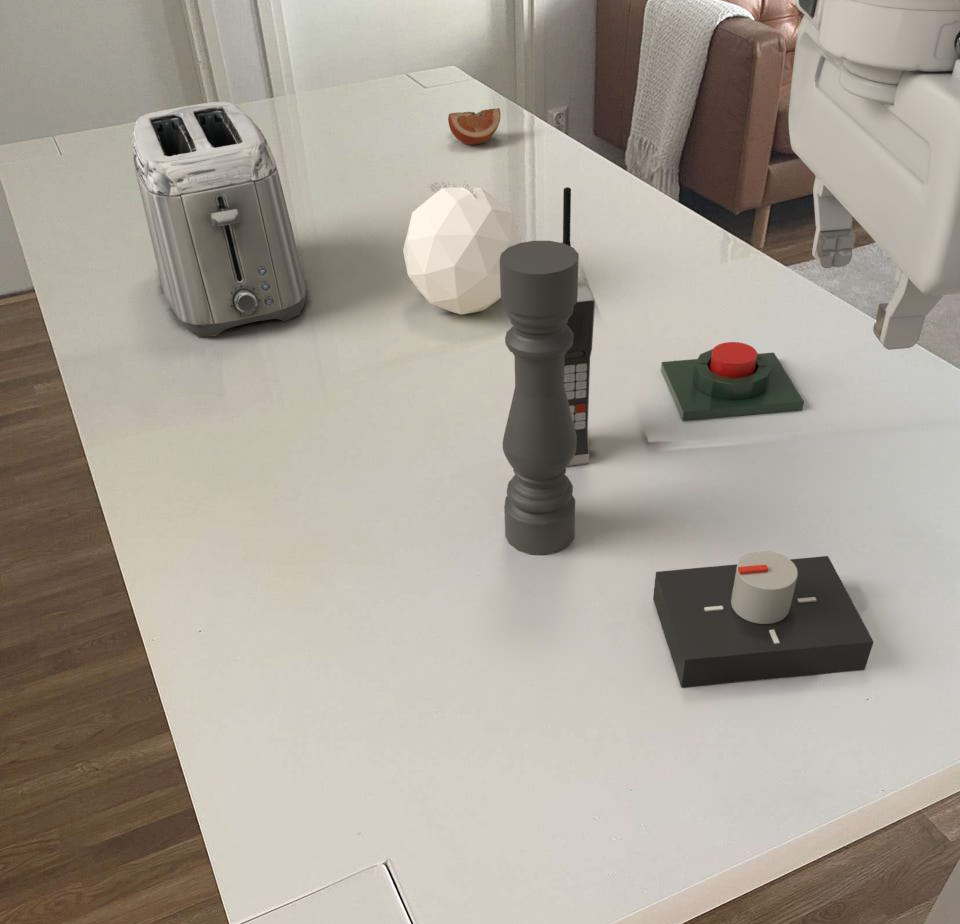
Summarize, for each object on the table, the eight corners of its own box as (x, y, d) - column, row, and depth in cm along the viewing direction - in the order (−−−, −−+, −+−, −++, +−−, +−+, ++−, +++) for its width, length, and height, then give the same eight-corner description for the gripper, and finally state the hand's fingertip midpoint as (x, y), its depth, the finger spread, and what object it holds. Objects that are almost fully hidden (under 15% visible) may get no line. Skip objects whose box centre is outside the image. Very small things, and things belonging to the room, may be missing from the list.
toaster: (179, 354, 116) (133, 183, 103) (154, 255, 136) (112, 101, 123) (322, 326, 119) (294, 157, 106) (276, 233, 140) (248, 82, 126)
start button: (747, 355, 103) (750, 340, 102) (760, 377, 100) (762, 361, 98) (705, 359, 103) (707, 343, 101) (716, 381, 100) (718, 365, 98)
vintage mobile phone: (551, 470, 96) (552, 203, 79) (540, 441, 100) (539, 180, 82) (589, 465, 96) (599, 198, 79) (577, 437, 100) (584, 176, 83)
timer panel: (820, 583, 83) (828, 553, 81) (864, 670, 76) (874, 640, 74) (652, 599, 82) (655, 569, 80) (681, 688, 75) (685, 658, 73)
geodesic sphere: (353, 258, 118) (400, 171, 106) (430, 217, 126) (481, 131, 114) (438, 356, 119) (493, 281, 107) (508, 309, 127) (568, 233, 115)
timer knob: (779, 583, 79) (788, 545, 76) (797, 621, 75) (806, 583, 73) (724, 588, 78) (730, 550, 76) (739, 627, 75) (746, 588, 73)
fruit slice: (496, 134, 165) (494, 101, 161) (506, 147, 160) (505, 113, 157) (446, 140, 164) (444, 107, 160) (455, 154, 159) (453, 120, 155)
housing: (770, 370, 107) (776, 336, 105) (800, 421, 100) (807, 385, 98) (659, 380, 107) (662, 345, 104) (681, 431, 100) (685, 395, 97)
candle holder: (579, 551, 87) (589, 272, 70) (508, 557, 87) (500, 279, 70) (569, 508, 92) (575, 235, 74) (501, 514, 91) (492, 242, 74)
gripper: (1128, 61, 37) (1007, 395, 47) (908, -51, 52) (851, 221, 61) (960, 74, 37) (873, 407, 46) (787, -42, 51) (749, 229, 61)
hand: (859, 299), depth 54 cm, fingers open, 8 cm apart
